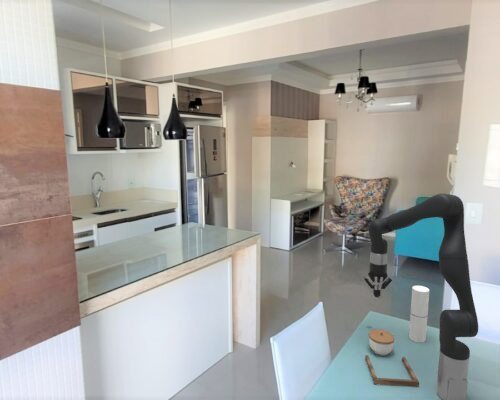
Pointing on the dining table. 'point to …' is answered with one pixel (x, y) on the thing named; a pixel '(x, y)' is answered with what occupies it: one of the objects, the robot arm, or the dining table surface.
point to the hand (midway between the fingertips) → (376, 296)
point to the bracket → (396, 382)
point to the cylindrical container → (419, 313)
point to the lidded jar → (381, 341)
